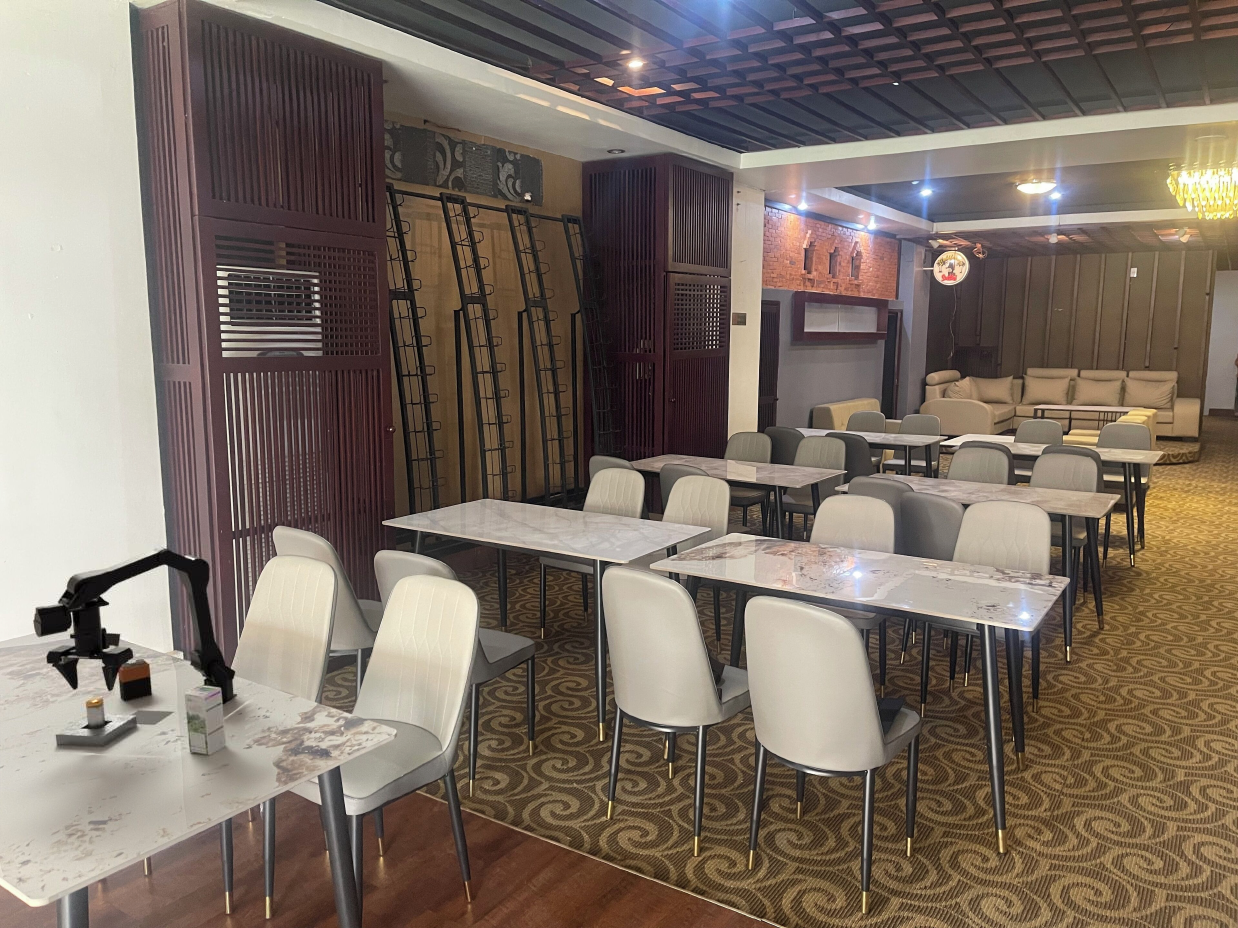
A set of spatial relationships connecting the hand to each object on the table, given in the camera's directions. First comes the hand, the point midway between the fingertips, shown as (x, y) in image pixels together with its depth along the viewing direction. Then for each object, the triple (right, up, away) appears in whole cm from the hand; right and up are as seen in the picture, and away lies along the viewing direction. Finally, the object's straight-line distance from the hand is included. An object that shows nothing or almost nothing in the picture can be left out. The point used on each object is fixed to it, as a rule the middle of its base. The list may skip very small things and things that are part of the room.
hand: (93, 689), depth 215 cm
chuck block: (0, -12, +2) cm, 12 cm away
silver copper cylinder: (0, -12, +2) cm, 12 cm away
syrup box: (+30, -12, -6) cm, 34 cm away
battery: (-4, -9, +26) cm, 28 cm away
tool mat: (+7, -10, +12) cm, 17 cm away
